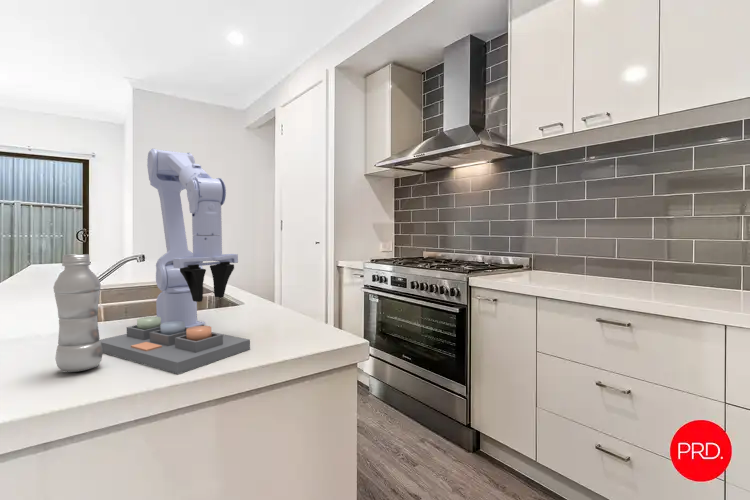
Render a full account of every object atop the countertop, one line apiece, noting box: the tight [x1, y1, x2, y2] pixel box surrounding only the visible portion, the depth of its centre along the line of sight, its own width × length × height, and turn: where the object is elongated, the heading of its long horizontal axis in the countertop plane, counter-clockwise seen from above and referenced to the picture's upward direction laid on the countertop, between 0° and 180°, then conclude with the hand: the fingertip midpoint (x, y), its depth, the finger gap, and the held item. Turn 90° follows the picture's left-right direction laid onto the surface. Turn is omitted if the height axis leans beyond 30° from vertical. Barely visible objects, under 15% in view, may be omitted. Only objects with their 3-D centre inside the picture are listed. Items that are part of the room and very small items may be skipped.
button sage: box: [136, 316, 161, 330], centre depth 85 cm, size 4×4×2 cm
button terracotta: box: [186, 325, 213, 341], centre depth 77 cm, size 4×4×2 cm
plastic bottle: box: [53, 253, 104, 373], centre depth 69 cm, size 6×7×20 cm
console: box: [99, 323, 251, 375], centre depth 81 cm, size 26×16×4 cm, turn 61°
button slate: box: [160, 321, 185, 335], centre depth 81 cm, size 4×4×2 cm
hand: (208, 299), depth 86 cm, fingers open, 5 cm apart
